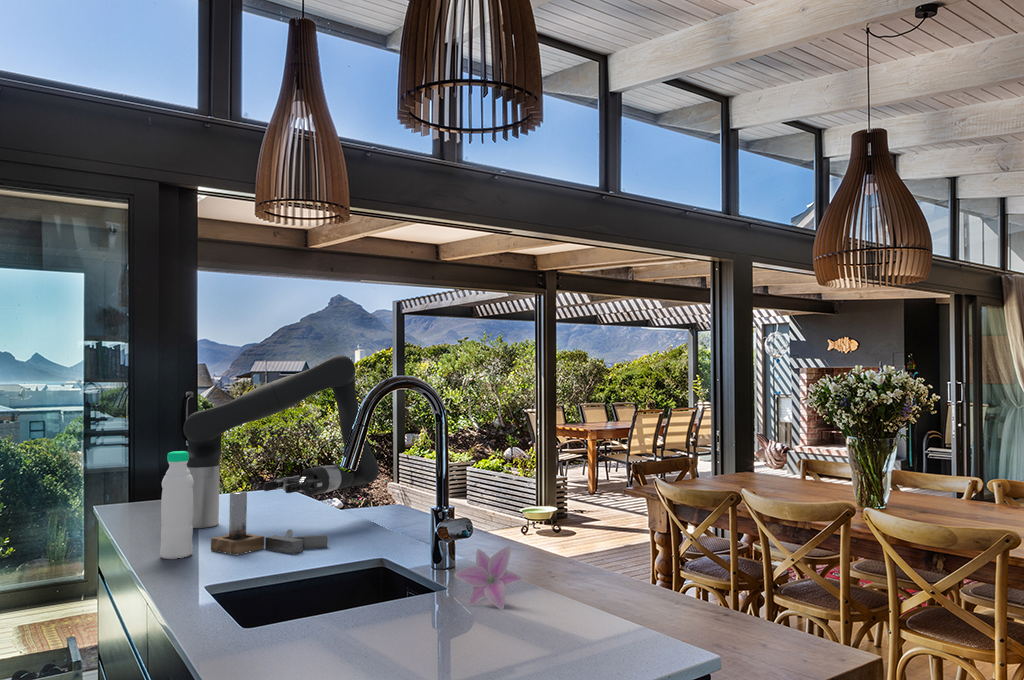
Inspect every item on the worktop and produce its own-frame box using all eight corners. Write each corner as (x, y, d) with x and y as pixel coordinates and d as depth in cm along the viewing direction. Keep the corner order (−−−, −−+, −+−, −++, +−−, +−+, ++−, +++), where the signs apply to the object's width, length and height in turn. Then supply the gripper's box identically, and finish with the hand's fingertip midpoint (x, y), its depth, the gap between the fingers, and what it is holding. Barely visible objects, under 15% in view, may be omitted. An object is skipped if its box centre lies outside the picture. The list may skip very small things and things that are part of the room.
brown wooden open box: (210, 550, 180) (211, 538, 180) (237, 543, 187) (238, 532, 187) (237, 555, 175) (237, 542, 175) (264, 548, 182) (264, 536, 182)
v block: (259, 548, 182) (259, 536, 182) (290, 540, 190) (290, 529, 190) (299, 555, 174) (299, 542, 175) (329, 547, 183) (329, 535, 183)
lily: (448, 603, 141) (444, 565, 136) (490, 568, 148) (487, 532, 144) (494, 635, 133) (491, 596, 129) (535, 597, 141) (533, 560, 137)
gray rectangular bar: (225, 550, 180) (226, 493, 181) (239, 546, 184) (239, 491, 184) (236, 552, 178) (236, 494, 179) (249, 548, 182) (250, 492, 182)
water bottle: (169, 561, 169) (171, 453, 171) (154, 557, 174) (156, 452, 175) (198, 555, 175) (199, 451, 176) (182, 551, 179) (184, 449, 181)
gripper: (303, 465, 209) (256, 472, 195) (339, 467, 201) (293, 475, 188) (303, 491, 208) (257, 500, 195) (339, 494, 201) (294, 504, 187)
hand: (275, 488), depth 191 cm, fingers open, 8 cm apart
